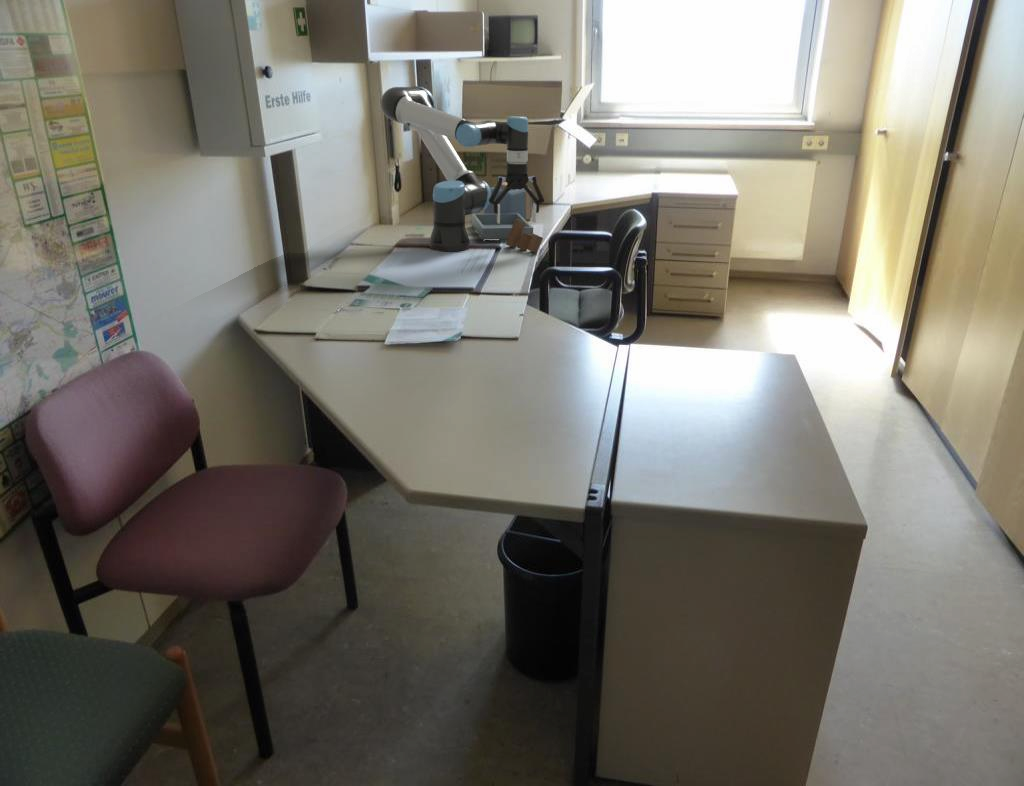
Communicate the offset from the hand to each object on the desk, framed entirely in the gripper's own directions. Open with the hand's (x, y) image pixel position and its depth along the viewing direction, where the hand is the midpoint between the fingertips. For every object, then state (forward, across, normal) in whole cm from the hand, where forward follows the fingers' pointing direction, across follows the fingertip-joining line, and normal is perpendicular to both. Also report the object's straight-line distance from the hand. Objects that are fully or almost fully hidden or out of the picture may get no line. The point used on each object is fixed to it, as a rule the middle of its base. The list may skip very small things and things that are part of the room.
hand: (516, 222), depth 270 cm
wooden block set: (+10, +2, +1) cm, 11 cm away
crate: (+10, 0, +27) cm, 29 cm away
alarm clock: (+10, +8, +54) cm, 56 cm away
